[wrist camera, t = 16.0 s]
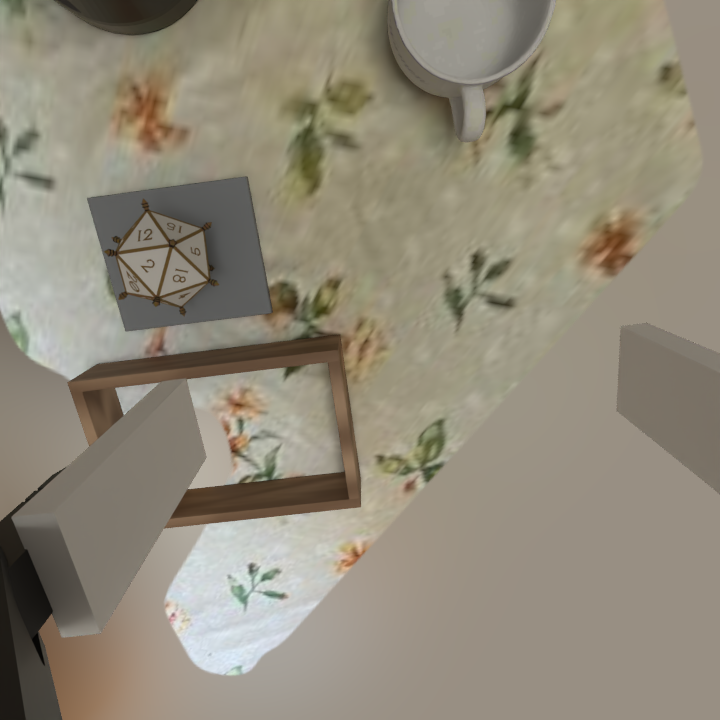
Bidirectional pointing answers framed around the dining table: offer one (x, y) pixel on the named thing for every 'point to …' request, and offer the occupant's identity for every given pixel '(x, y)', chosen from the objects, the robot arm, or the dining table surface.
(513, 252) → the dining table surface
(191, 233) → the game die
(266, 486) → the rectangular frame
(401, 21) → the teacup
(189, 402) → the robot arm
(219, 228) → the pad
